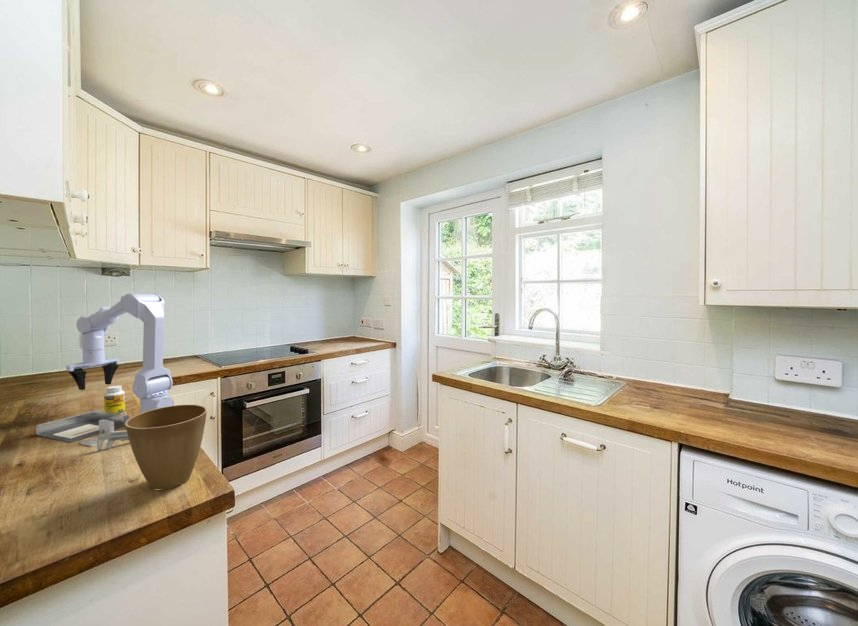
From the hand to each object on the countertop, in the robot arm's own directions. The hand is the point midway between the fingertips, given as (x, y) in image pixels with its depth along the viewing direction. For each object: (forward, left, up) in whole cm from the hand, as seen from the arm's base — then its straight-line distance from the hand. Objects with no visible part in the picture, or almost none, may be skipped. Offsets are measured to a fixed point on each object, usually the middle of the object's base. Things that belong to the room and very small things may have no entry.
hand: (95, 386), depth 123 cm
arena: (-14, +11, -10) cm, 20 cm away
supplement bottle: (-7, -2, -10) cm, 12 cm away
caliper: (-40, +10, -11) cm, 43 cm away
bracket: (-29, +15, -10) cm, 34 cm away
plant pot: (-72, +24, -10) cm, 76 cm away
